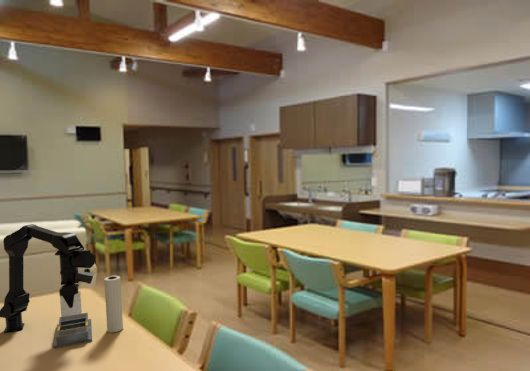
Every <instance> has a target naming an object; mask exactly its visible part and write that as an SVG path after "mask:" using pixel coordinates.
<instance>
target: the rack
mask: <svg viewBox="0 0 530 371" xmlns="http://www.w3.org/2000/svg"><path fill="white" fill-rule="evenodd" d="M92 328H93V327H92V318H89V312H82V314H76V315H70V316H64V317H61V316H59V320H58V324H56V328H55V332H54V338H53V339H54V340H53V345H52V347H53V349H59V348H63V347H68V346H74V345H78V344H79V345H80V344H84V343H90V342H93V331H92V330H93V329H92Z"/></svg>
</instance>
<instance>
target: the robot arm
mask: <svg viewBox="0 0 530 371" xmlns="http://www.w3.org/2000/svg"><path fill="white" fill-rule="evenodd" d="M33 238H34V239H36V240H39V241H42V242H45V243H48V244H50V245H51V246H52V247H53V248H54V249H56V250H57V251H56V252H55V253H54V256H59V267H60V268H59V269H60V271H59V274H60V285H61V286H60V287H59V290H58V293H59V297H60V296H63V298H64V300H65V301H66V303H67V305H68V306H69V308H72V307H73V301H74V295H75V294H77V293H78V291H79V286H80V284H79V283H80V282H81V283H86V284H88V285H90V284H92V281H93V278H94V273H93V272H92V271H91V270H90V269H91V268H92V267H94V265H95V264H96V257H95V255H94V253H93V252H92V251H91V249H85V247H84V246H83V244H82V242H81V241H80V239H79V238H78V237H77V234H76V233H74V232H66V231H65V232H59V231H58V232H57V231H54V230H52V229H48V228H44V227H42V226H38V225H36V224H34V223H30V224H26V225H22V226H21V227H20V228H19V229H18V230H15V231H14V232H12V233H10V234H7V235H6V236H5V237H4V238H3V249H4V251H5V253H6V254H7V255H8V291H7V293H6V295H5V297H4V301H3V305H2V307H1V308H0V318H3V319H4V320H5V328H4V330H3V333H4V334H5V333H10V332H11V333H12V332H16V331H22V330H23V329H24V328H25V327H24V326H25V322H23V315H22V314H23V313H24V312H26V311H27V310H28V306H29V303H31V302H30V292H26V290H25V289H24V254H25V253H26V251H27V250H28V247H29V242H30V240H31V239H33ZM79 268H80V269H84V270H79Z"/></svg>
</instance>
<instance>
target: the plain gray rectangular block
mask: <svg viewBox="0 0 530 371" xmlns="http://www.w3.org/2000/svg"><path fill="white" fill-rule="evenodd" d="M81 293H82V292H81V291H80V290H78V293H77V294H75V295H74V301H73V307H72V308H69V306H68V305H67V303H66V301H65V300H64V298H63V296H60V295H59V300H60V301H59V302H60V315H61V316H60V317H64V316H70V315H76V314H82V313H83V312H82V311H83V310H82V309H83V308H82V297H81V296H82V295H81Z"/></svg>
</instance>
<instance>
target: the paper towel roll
mask: <svg viewBox="0 0 530 371" xmlns="http://www.w3.org/2000/svg"><path fill="white" fill-rule="evenodd" d="M103 280H104V294H105V295H104V298H105V311H106V313H105V315H106V330H107V332H108V333H117V332H120V331H122V330H123V329H124V322H123V320H124V318H123V302H122V283H121V282H122V281H121V276H119V275H113V274H111V275H110V276H107V277H104V279H103Z"/></svg>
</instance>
